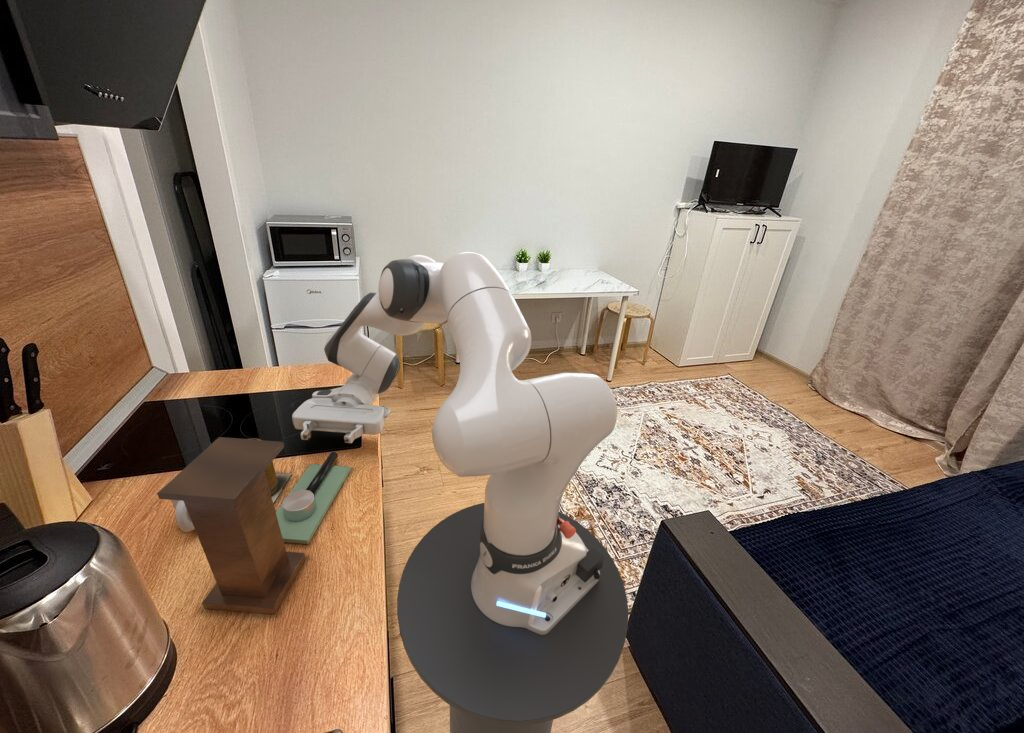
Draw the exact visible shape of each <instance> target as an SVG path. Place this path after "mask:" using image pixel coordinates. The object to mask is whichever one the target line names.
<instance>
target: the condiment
mask: <svg viewBox="0 0 1024 733" xmlns="http://www.w3.org/2000/svg"><path fill="white" fill-rule="evenodd" d="M249 439H251V440H263V439H262V438H259V437H251V438H249ZM264 471H265V475H266V479H267V482H268V486H269V490H270V493H271V497H272V501H273V504H274V503H275V501H276V500H277V499H278V497H279V496H280V494H281V493H282V491H283V489H284V487H285V486H286V484H287V482H288V481H289V479H290V477H291V476H292V473H276V470H275V465H274V460H273V461H272V462H271V463H270V464H269V466H268V467H267V468H266V469H265V470H264Z"/></svg>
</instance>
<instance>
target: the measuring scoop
mask: <svg viewBox="0 0 1024 733" xmlns="http://www.w3.org/2000/svg"><path fill="white" fill-rule="evenodd" d="M338 457H339V453H338V452H337V451H331V452H330V453H329V455H328V456H327V458H326V459H325V460H324V462H323V464H321V465H322V467H321V468H320V470H319V471H318V473H317V474H316V475H315V477H314V478H313V480H312V481H311V483H310V484H309V486H308V487H307V489H306V490H298V491H295V492H292V493H290V492H289V493H290V494H289V493H288V494H287V495H286V496H285V497H284V498H283V499H282V502H281V504H282V508H283V512H284V515H285V518H286V519H287V520H289V521H292V522H298V521H302V520H305V519H307V518H309V517H310V516H311V515H312V514H313V513H314V512H315V510H316V503H315V498H314V493H315V492H316V490H317V489H318V487H319V485H320V484H321V482H322V481H323V479H324V478H325V476H326V474H327V473H328V471H329V470H330V468H331V467H332V465H333V466H334V464H335V462H336V461H337V459H338Z"/></svg>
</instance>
